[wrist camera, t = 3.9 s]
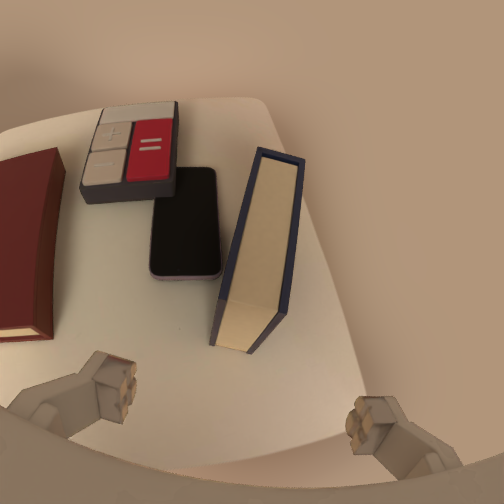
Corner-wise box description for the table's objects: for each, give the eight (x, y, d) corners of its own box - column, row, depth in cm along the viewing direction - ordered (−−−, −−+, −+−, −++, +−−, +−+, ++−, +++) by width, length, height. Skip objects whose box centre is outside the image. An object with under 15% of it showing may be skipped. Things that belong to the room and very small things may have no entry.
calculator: (76, 186, 29) (101, 103, 35) (87, 208, 33) (106, 125, 39) (173, 177, 31) (178, 96, 37) (175, 201, 35) (179, 119, 41)
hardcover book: (272, 237, 34) (305, 159, 24) (251, 354, 28) (287, 314, 17) (237, 228, 34) (257, 146, 24) (209, 345, 27) (217, 298, 17)
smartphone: (216, 167, 37) (223, 276, 30) (215, 173, 38) (222, 281, 31) (157, 166, 36) (147, 277, 28) (158, 173, 37) (149, 282, 29)
